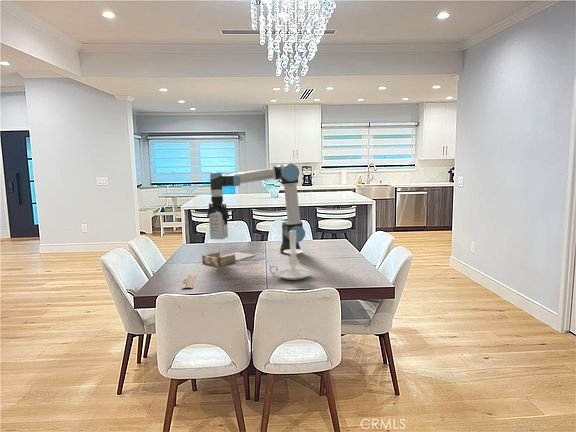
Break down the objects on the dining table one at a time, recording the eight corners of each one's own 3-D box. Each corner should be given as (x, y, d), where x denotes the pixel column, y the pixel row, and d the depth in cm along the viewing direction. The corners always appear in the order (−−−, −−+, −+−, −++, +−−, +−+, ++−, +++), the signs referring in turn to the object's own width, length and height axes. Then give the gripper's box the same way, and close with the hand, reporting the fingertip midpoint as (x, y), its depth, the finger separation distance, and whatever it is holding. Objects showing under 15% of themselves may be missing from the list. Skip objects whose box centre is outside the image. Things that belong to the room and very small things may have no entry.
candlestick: (264, 276, 230) (263, 228, 226) (304, 271, 238) (303, 225, 234) (274, 286, 211) (273, 234, 207) (317, 280, 219) (317, 230, 215)
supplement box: (223, 239, 257) (221, 213, 255) (209, 239, 259) (208, 213, 257) (228, 236, 266) (227, 212, 264) (215, 236, 268) (214, 212, 266)
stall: (235, 261, 265) (235, 254, 265) (219, 266, 254) (219, 258, 253) (218, 258, 275) (218, 251, 274) (202, 262, 263) (202, 255, 262)
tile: (254, 256, 280) (254, 254, 280) (237, 261, 266) (237, 259, 266) (236, 253, 290) (236, 252, 290) (220, 257, 276) (219, 256, 276)
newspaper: (193, 290, 209) (192, 286, 208) (179, 291, 208) (179, 287, 207) (195, 277, 232) (195, 274, 232) (183, 278, 231) (182, 275, 230)
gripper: (200, 196, 263) (202, 228, 266) (225, 197, 249) (227, 231, 252) (208, 195, 269) (210, 226, 272) (234, 196, 255) (235, 229, 258)
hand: (218, 228), depth 262 cm, fingers closed on supplement box, 11 cm apart
